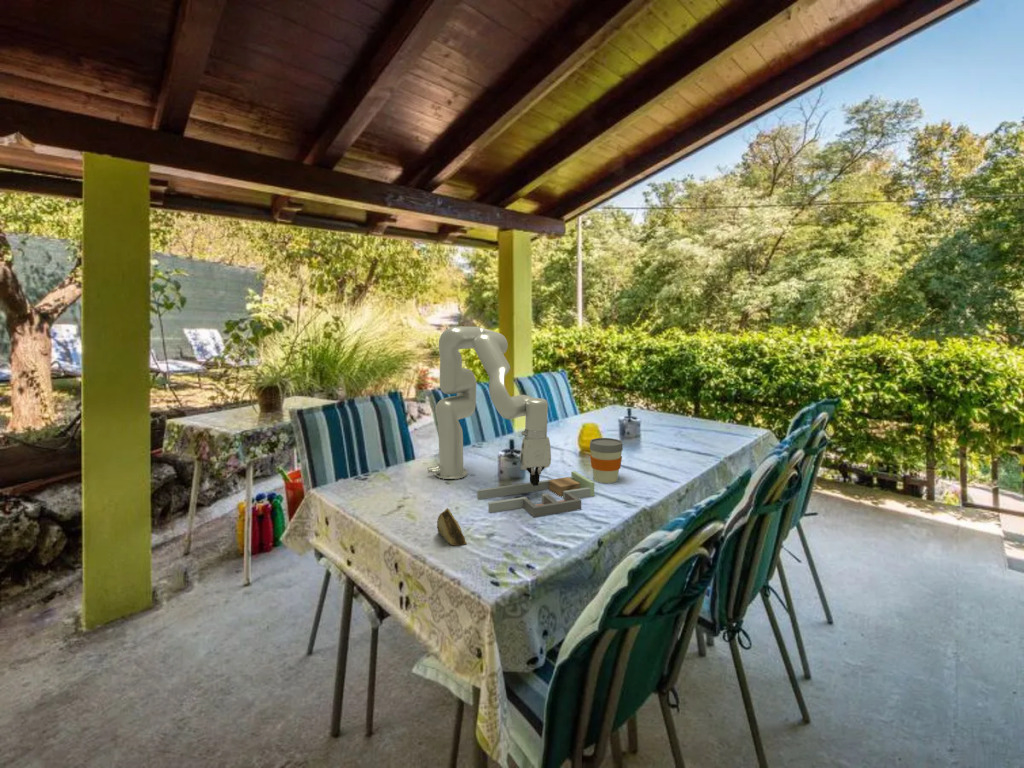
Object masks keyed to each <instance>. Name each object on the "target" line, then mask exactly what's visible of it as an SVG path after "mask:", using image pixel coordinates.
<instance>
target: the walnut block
mask: <svg viewBox="0 0 1024 768" xmlns="http://www.w3.org/2000/svg"><path fill="white" fill-rule="evenodd" d="M569 477H570V476H565V477H559V479H558V478H553V479H554V480H551V479H548V480H549V489H548V490H549V491H550V492H551V491H552V492H551V493H553V492H554V493H553V494H555V493H556V494H557V495H556V494H555V495H556V496H558V495H559V496H558V497H560V496H563V491H567V490H573V489H580V483H578V482H576V481H574V480H573V479H571V478H569Z"/></svg>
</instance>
